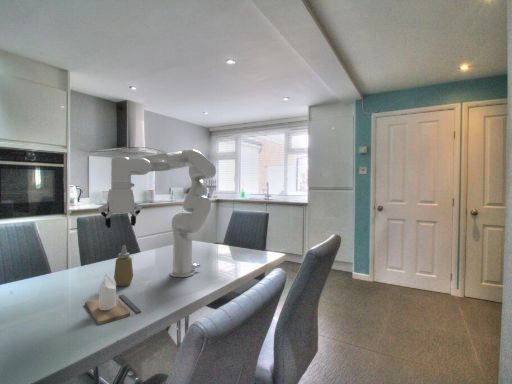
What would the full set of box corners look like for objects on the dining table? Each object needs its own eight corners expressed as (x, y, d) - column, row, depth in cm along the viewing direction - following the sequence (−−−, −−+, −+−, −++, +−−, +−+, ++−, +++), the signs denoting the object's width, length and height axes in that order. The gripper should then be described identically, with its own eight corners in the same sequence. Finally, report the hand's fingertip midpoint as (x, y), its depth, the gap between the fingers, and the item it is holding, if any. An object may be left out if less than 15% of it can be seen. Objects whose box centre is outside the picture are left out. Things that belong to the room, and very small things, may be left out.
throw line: (123, 295, 116) (123, 294, 116) (141, 312, 101) (141, 310, 101) (119, 296, 115) (119, 295, 115) (136, 313, 100) (136, 312, 100)
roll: (111, 277, 100) (95, 277, 99) (111, 310, 100) (95, 310, 100) (118, 272, 106) (103, 272, 105) (118, 303, 106) (103, 303, 106)
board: (113, 297, 114) (113, 295, 114) (130, 315, 99) (130, 312, 99) (85, 304, 107) (85, 302, 107) (98, 324, 92) (98, 321, 92)
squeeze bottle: (137, 282, 131) (137, 244, 131) (123, 288, 123) (124, 248, 123) (123, 280, 134) (123, 243, 133) (109, 286, 126) (109, 246, 126)
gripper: (138, 186, 127) (138, 223, 127) (95, 185, 115) (95, 227, 115) (145, 186, 121) (144, 225, 122) (100, 186, 109) (100, 229, 110)
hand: (121, 226), depth 118 cm, fingers open, 9 cm apart
